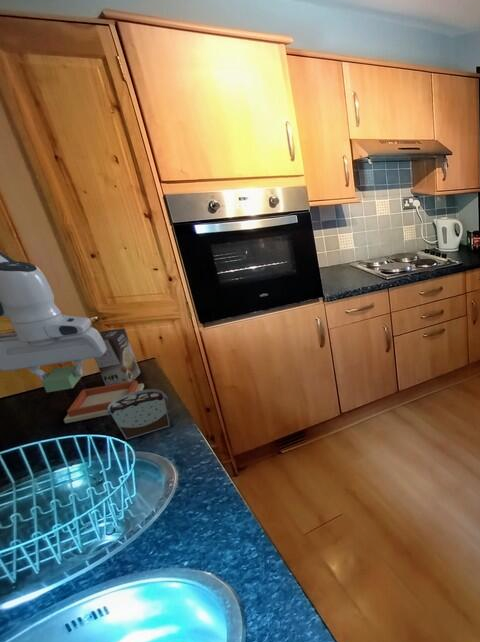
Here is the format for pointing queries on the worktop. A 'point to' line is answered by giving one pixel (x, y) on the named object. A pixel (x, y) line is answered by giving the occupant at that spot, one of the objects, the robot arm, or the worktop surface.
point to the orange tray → (98, 400)
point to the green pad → (60, 379)
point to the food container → (140, 412)
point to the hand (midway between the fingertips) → (63, 377)
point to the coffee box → (117, 358)
